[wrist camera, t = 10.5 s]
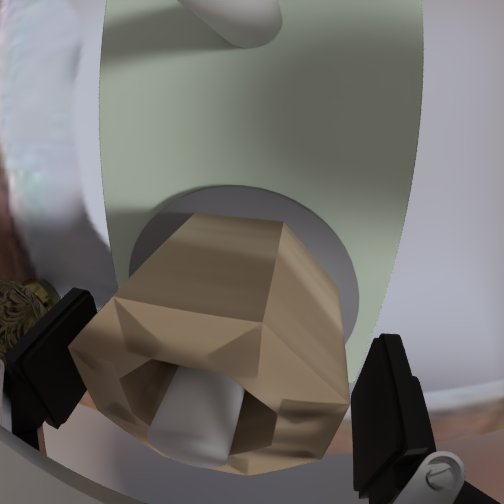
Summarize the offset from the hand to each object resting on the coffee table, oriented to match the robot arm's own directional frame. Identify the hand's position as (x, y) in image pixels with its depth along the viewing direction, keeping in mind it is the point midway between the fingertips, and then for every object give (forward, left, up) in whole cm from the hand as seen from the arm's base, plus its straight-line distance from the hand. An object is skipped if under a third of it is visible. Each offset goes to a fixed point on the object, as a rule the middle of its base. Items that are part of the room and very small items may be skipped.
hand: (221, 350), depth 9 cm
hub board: (-5, 0, -4) cm, 7 cm away
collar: (0, 0, -2) cm, 2 cm away
